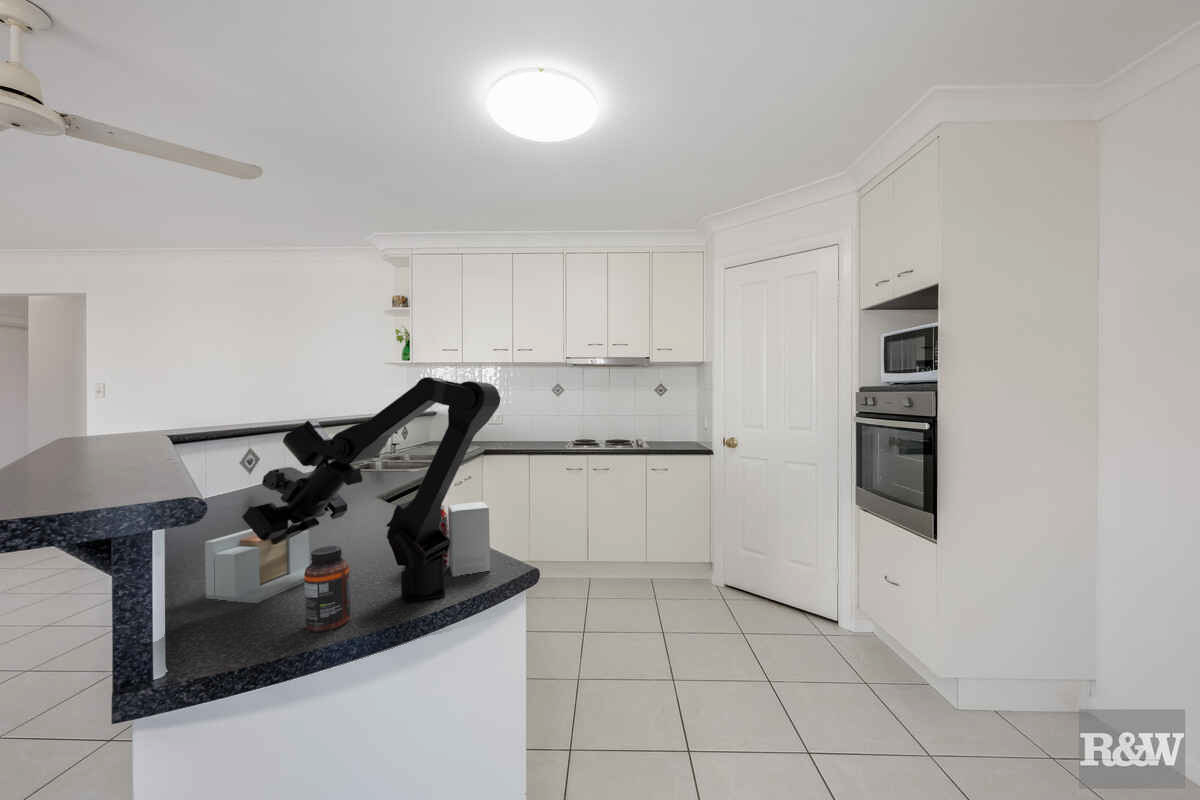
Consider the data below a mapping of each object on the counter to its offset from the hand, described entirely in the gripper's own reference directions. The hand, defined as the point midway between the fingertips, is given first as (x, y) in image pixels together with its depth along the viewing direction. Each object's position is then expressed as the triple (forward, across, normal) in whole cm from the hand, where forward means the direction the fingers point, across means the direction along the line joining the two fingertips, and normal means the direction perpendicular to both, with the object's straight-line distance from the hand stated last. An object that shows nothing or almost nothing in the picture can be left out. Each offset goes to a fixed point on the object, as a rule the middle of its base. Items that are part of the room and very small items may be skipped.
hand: (273, 542), depth 91 cm
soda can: (-11, -14, +23) cm, 29 cm away
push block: (+6, 0, +3) cm, 7 cm away
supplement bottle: (-11, +13, +22) cm, 28 cm away
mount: (+6, 0, +5) cm, 8 cm away
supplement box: (-17, -13, +29) cm, 36 cm away
